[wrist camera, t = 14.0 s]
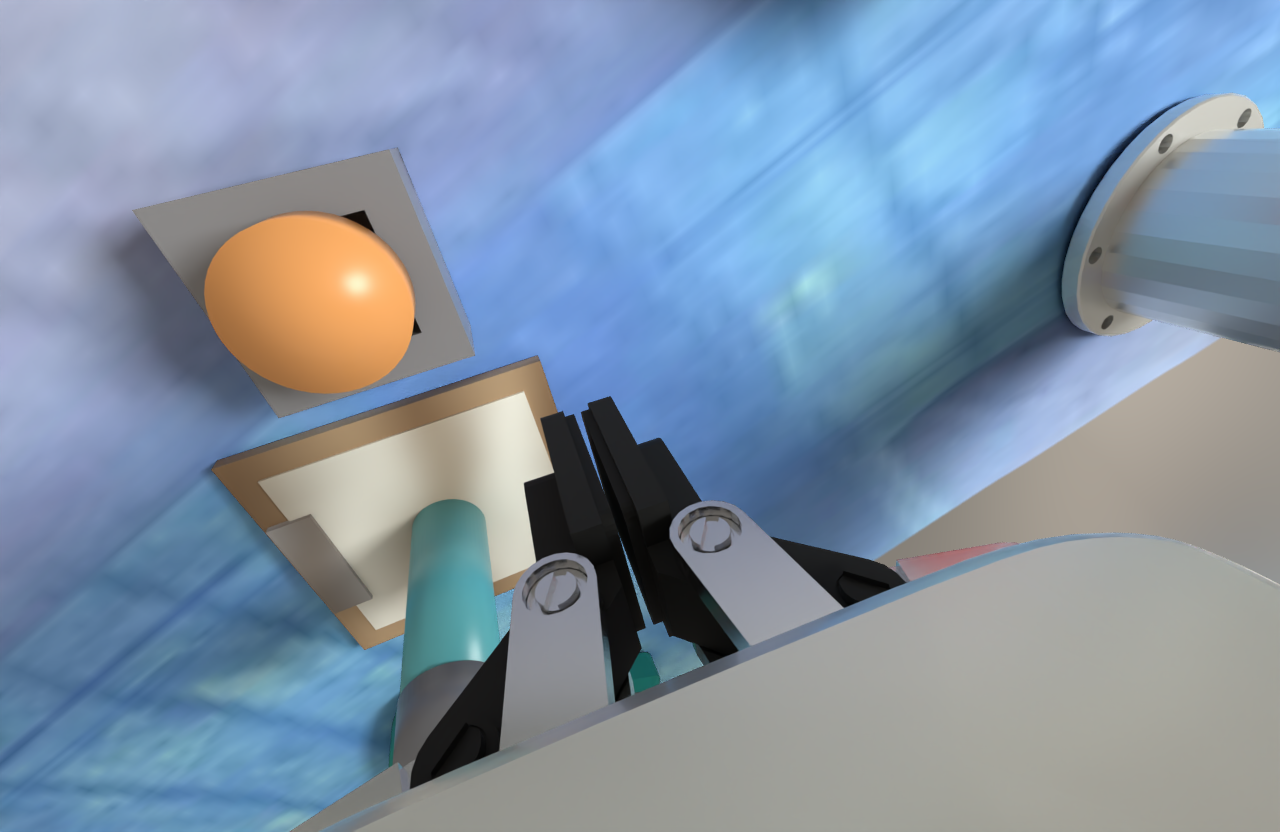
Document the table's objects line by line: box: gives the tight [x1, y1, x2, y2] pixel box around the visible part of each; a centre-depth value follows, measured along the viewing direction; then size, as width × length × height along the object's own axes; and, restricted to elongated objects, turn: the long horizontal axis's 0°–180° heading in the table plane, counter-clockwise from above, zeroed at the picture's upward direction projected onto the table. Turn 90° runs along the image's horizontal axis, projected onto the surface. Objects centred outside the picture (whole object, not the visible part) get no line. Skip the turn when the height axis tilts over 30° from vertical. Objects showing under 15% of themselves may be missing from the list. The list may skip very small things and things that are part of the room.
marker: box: [393, 499, 500, 767], centre depth 18 cm, size 3×3×10 cm
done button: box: [204, 211, 416, 394], centre depth 14 cm, size 4×4×4 cm
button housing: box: [132, 148, 475, 418], centre depth 15 cm, size 6×6×3 cm
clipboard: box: [211, 355, 558, 650], centre depth 22 cm, size 12×11×1 cm
